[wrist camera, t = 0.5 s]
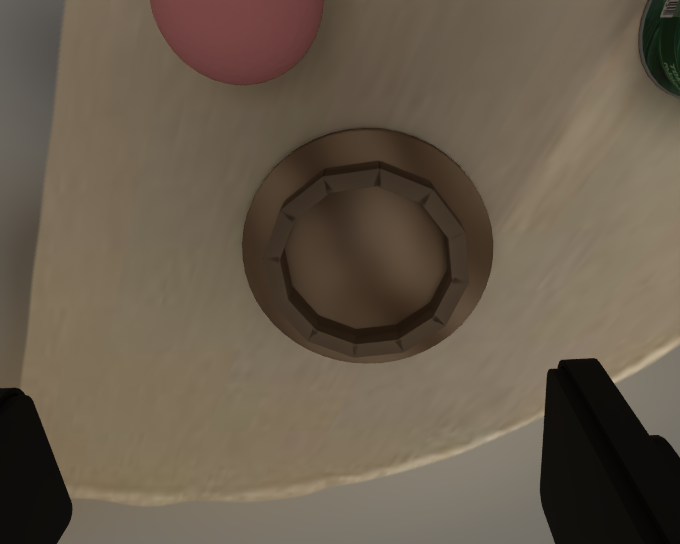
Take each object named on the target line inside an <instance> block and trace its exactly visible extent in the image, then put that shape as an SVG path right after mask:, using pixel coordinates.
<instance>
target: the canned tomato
mask: <svg viewBox="0 0 680 544" xmlns="http://www.w3.org/2000/svg"><path fill="white" fill-rule="evenodd" d="M639 51H640V56H641V60H642V64H643V66H644V68H645V70H646V72H647V74H648V76H649V77H650V78H651V79H652V81H653V82H654V83H655V84H656V85H657V86H658V87H660V88H661V89H662V90H664V91H665V92H666V93H668V94H671V95H673V96H675V97H678V98H680V0H649V1H648V3H647V5H646V8H645V11H644V14H643V16H642V19H641V25H640V31H639Z"/></svg>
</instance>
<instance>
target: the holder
mask: <svg viewBox="0 0 680 544" xmlns="http://www.w3.org/2000/svg"><path fill="white" fill-rule="evenodd" d="M242 248H243V262H244V268H245V273H246V276H247V279H248V283H249V286H250V288H251V290H252V292H253V295H254V297H255V299H256V301H257V302H258V304H259V305H260V307H261V309H262V310H263V312H264V313H265V314H266V315H267V317H268V318H269V319H270V320H271V321H272V323H273V324H274V325H275V326H276V327H277V328H278V329H280V330H281V331H282V332H283V333H284V334H285V335H286V336H288V337H289V338H291V339H292V340H293V341H295V342H296V343H298V344H300V345H301V346H303V347H305V348H307V349H308V350H310V351H313V352H315V353H318V354H320V355H322V356H326V357H329V358H332V359H336V360H340V361H346V362H352V363H383V362H390V361H396V360H400V359H403V358H407V357H411V356H413V355H416V354H418V353H421V352H423V351H425V350H427V349H429V348H431V347H433V346H435V345H436V344H438V343H440V342H441V341H442V340H444V339H445V338H447V337H448V336H449V335H451V334H452V333H453V332H454V331H455V330H456V329H457V328H458V327H459V326H461V325H462V323H463V322H464V321H465V320H466V319H467V318H468V316H469V315H470V314H471V313H472V311H473V310H474V308H475V307H476V305H477V303H478V302H479V300H480V298H481V296H482V294H483V292H484V290H485V288H486V285H487V281H488V278H489V275H490V271H491V265H492V259H493V237H492V229H491V224H490V220H489V216H488V213H487V210H486V208H485V205H484V203H483V201H482V198H481V196H480V195H479V193H478V191H477V190H476V188H475V187H474V185H473V183H472V182H471V180H470V179H469V177H468V176H467V175H466V174H465V173H464V171H463V170H462V169H461V168H460V167H459V165H457V164H456V163H455V162H454V161H453V160H452V159H451V158H450V157H449V156H447V155H446V154H445V153H443V152H442V151H440V150H439V149H437V148H436V147H434V146H433V145H431V144H429V143H427V142H425V141H423V140H421V139H419V138H417V137H414V136H411V135H408V134H405V133H402V132H397V131H392V130H387V129H376V128H359V129H348V130H343V131H339V132H334V133H330V134H328V135H325V136H322V137H319V138H317V139H314V140H312V141H310V142H309V143H307V144H305V145H303V146H301V147H299V148H298V149H297V150H295V151H294V152H292V153H291V154H290V155H288V156H287V157H286V158H285V159H284V160H282V161H281V162H280V163H279V164H278V165H277V166H276V167H275V168H274V169H273V171H272V172H271V173H270V174H269V176H268V177H267V178H266V179H265V181H264V182H263V184H262V185H261V187H260V189H259V190H258V192H257V194H256V195H255V197H254V199H253V201H252V204H251V206H250V209H249V211H248V214H247V218H246V222H245V226H244V232H243V241H242Z"/></svg>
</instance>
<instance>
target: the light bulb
mask: <svg viewBox="0 0 680 544" xmlns="http://www.w3.org/2000/svg"><path fill="white" fill-rule="evenodd" d="M150 3H151V8H152V12H153V15H154V18H155V20H156V23H157V25H158V27H159V29H160V31H161V33H162V35H163V37H164V38H165V40H166V41H167V43H168V44H169V46H170V47H171V48H172V50H173V51H174V52H175V53H176V54H177V55H178V56H179V57H180V58H181V59H182V60H183V61H184V62H185V63H186V64H187V65H189V66H190V67H191V68H193V69H194V70H196V71H197V72H199V73H201V74H203V75H205V76H207V77H209V78H211V79H213V80H217V81H220V82H223V83H228V84H234V85H251V84H257V83H262V82H266V81H268V80H271V79H274V78H276V77H278V76H280V75H282V74H283V73H285V72H286V71H288V70H289V69H291V68H292V67H293V66H294V65H296V64H297V63H298V62H299V60H300V59H301V58H302V57H303V56H304V54H305V53H306V52H307V50H308V49H309V47H310V45H311V44H312V42H313V40H314V38H315V36H316V34H317V31H318V28H319V25H320V22H321V18H322V12H323V4H324V0H150Z"/></svg>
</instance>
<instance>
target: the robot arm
mask: <svg viewBox="0 0 680 544" xmlns="http://www.w3.org/2000/svg"><path fill="white" fill-rule="evenodd" d="M540 496H541V503H542V507H543V510H544V513H545V516H546V519H547V522H548V524H549V527H550V530H551V533H552V536H553V539H554V542H555V544H680V457H679V456H678V455H677V453H676V452H675V451H674V449H673V448H672V446H671V445H670V444H669V443H668V442H667V440H666V439H664V438H663V437H661V436H659V435H649V434H648V433H647V431H646V430H645V428H644V427H643V425H642V424H641V422H640V421H639V419H638V418H637V417H636V415H635V414H634V412H633V411H632V409H631V408H630V406H629V405H628V403H627V402H626V400H625V399H624V397H623V396H622V395H621V393H620V392H619V390H618V389H617V387H616V386H615V384H614V383H613V381H612V380H611V378H610V377H609V375H608V374H607V372H606V371H605V369H604V368H603V367H602V365H601V364H600V362H599V361H598V360H597V359H595V358H588V359H569V360H561V361H560V362H559V364H558V369H549V370H548V373H547V384H546V400H545V415H544V432H543V447H542V463H541V478H540ZM71 516H72V503H71V499H70V497H69V494H68V492H67V489H66V486H65V484H64V481H63V478H62V476H61V473H60V471H59V468H58V465H57V463H56V460H55V457H54V455H53V452H52V449H51V447H50V444H49V442H48V439H47V436H46V434H45V431H44V428H43V426H42V423H41V420H40V418H39V415H38V413H37V410H36V407H35V405H34V402H33V400H32V398H30V397H29V396H27V395H25V394H24V392H23V391H22V390H20V389H18V388H0V544H57V543H58V541H59V539H60V538H61V536H62V534H63V533H64V531H65V529H66V528H67V526H68V524H69V522H70V520H71Z"/></svg>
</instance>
